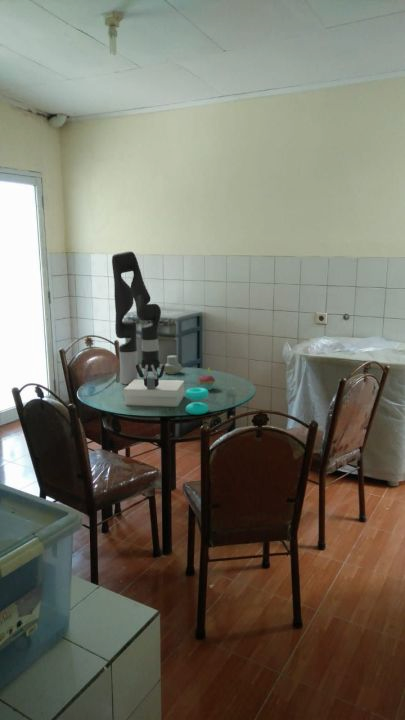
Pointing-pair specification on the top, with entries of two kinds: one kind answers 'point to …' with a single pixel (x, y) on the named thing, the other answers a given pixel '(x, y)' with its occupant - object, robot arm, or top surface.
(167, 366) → the air freshener
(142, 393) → the lid
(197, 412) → the donuts
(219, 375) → the top surface
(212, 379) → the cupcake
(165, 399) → the mailer base
